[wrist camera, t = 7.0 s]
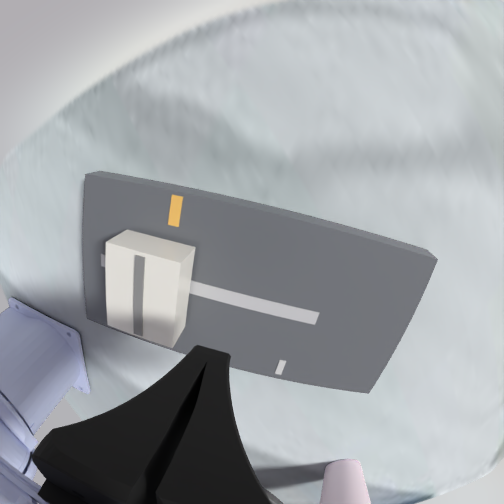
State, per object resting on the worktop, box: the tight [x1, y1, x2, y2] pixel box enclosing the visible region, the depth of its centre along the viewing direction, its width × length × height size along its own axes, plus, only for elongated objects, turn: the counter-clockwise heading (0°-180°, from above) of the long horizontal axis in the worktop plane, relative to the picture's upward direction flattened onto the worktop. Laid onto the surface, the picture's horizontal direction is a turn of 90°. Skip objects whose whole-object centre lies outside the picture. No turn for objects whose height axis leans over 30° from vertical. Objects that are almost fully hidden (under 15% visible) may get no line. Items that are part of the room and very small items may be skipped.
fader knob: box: [105, 230, 196, 348], centre depth 15 cm, size 4×5×2 cm
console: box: [83, 171, 438, 393], centre depth 17 cm, size 20×10×2 cm, turn 78°
